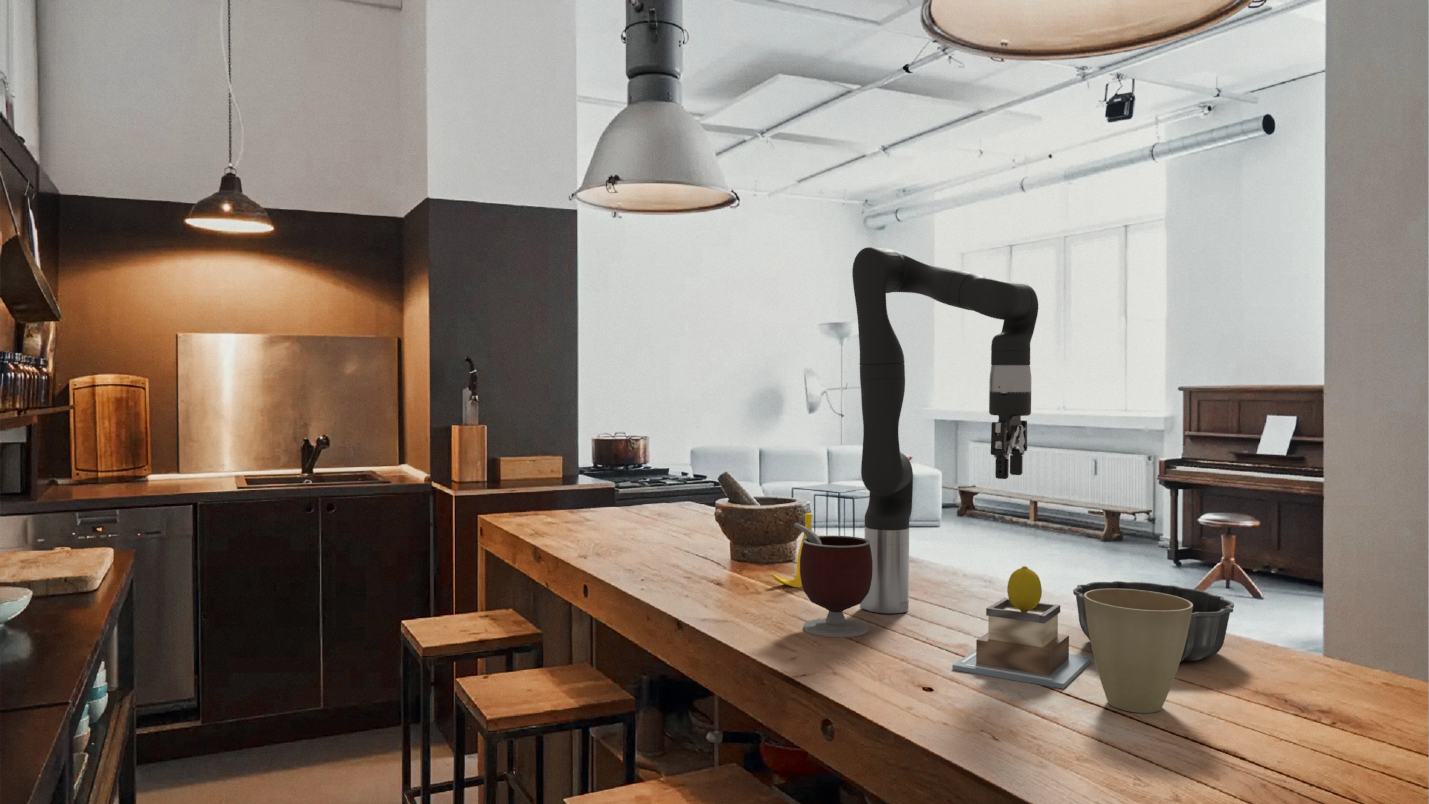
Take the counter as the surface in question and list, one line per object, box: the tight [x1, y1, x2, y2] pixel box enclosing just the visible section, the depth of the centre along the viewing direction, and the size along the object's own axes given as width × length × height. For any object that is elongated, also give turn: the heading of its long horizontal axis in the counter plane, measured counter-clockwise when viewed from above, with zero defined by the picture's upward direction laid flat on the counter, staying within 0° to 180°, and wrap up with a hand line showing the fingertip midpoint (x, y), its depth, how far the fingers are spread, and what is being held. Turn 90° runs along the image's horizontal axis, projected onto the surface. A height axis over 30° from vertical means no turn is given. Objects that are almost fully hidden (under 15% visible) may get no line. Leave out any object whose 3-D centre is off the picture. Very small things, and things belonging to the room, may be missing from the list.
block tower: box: [975, 597, 1070, 676], centre depth 169 cm, size 12×12×9 cm
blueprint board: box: [951, 649, 1092, 690], centre depth 169 cm, size 18×18×1 cm
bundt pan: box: [1072, 580, 1235, 663], centre depth 179 cm, size 26×26×10 cm
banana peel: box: [770, 512, 813, 588], centre depth 235 cm, size 16×19×17 cm
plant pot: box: [1084, 589, 1193, 714], centre depth 149 cm, size 15×15×16 cm
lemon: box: [1006, 565, 1043, 613], centre depth 169 cm, size 6×6×8 cm
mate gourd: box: [793, 522, 873, 638], centre depth 193 cm, size 16×14×20 cm
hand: (1009, 476), depth 187 cm, fingers open, 8 cm apart
